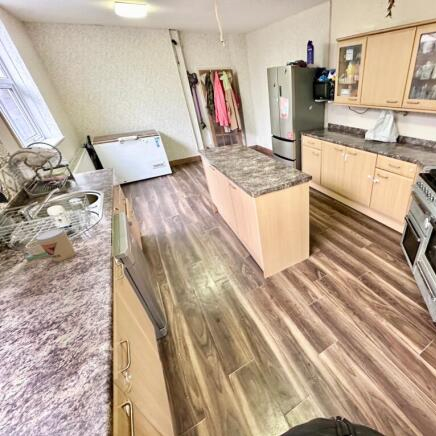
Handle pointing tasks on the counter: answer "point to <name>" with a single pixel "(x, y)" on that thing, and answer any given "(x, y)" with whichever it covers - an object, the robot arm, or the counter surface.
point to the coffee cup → (56, 244)
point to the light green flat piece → (37, 256)
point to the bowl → (35, 248)
